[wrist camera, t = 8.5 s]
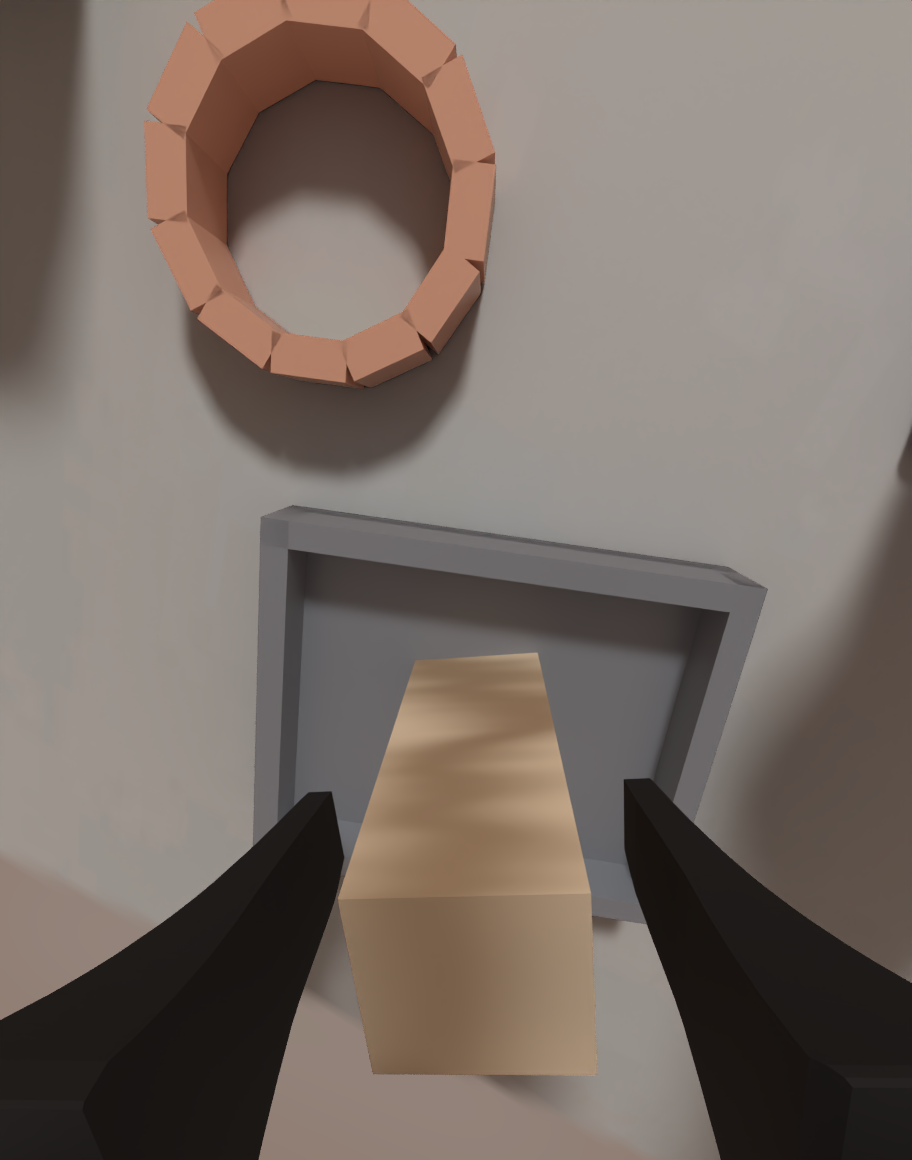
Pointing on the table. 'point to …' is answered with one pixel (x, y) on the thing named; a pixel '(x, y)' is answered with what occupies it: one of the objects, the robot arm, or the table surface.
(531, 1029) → the oak peg
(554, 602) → the tray
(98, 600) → the table surface
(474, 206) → the segmented block ring
